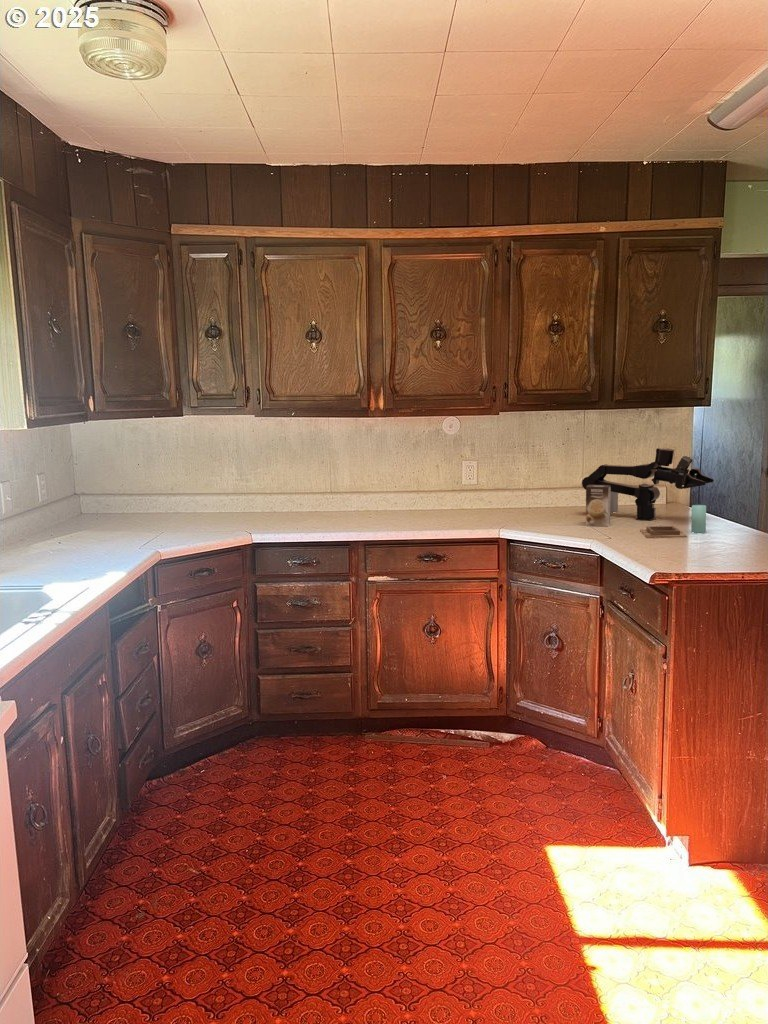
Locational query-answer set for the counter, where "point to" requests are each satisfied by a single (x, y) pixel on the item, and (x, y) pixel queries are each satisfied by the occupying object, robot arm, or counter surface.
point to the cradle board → (662, 532)
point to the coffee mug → (613, 502)
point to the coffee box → (598, 505)
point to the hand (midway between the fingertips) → (709, 482)
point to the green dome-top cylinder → (698, 519)
